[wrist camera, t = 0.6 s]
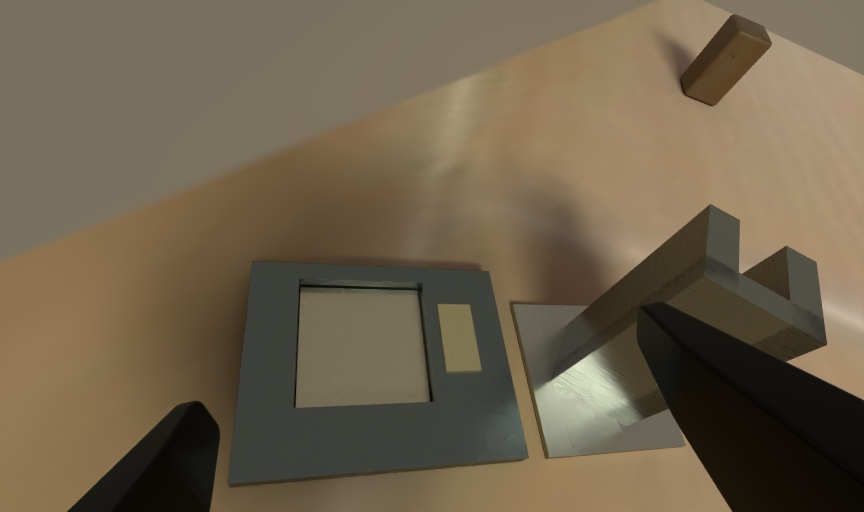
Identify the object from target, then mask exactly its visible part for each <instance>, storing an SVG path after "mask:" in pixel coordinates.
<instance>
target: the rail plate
mask: <svg viewBox="0 0 864 512" xmlns="http://www.w3.org/2000/svg"><path fill="white" fill-rule="evenodd" d="M299 287H301V290H300V314H299V338H298V361H297V385H296V408H294V390H295V367H296V344H297V322H298V299H299ZM417 291H418V292H417ZM418 295H419V300H418ZM419 304H420V309H419ZM420 312H421V318H420ZM421 321H422V327H421ZM422 330H423V335H422ZM423 339H424V344H423ZM424 347H425V353H424ZM425 356H426V362H425ZM426 365H427V370H426ZM427 373H428V379H427ZM428 382H429V388H428ZM429 391H430V397H429ZM430 399H431V402H430ZM527 458H529V456H528V451H527V447H526V442H525V437H524V433H523V428H522V423H521V419H520V414H519V409H518V405H517V400H516V395H515V391H514V386H513V382H512V377H511V372H510V368H509V363H508V358H507V354H506V349H505V344H504V340H503V335H502V330H501V326H500V321H499V316H498V312H497V307H496V303H495V298H494V293H493V289H492V284H491V279H490V275H489V271H471V270H448V269H425V268H402V267H379V266H356V265H333V264H310V263H287V262H264V261H252V269H251V278H250V287H249V296H248V305H247V314H246V323H245V332H244V341H243V350H242V359H241V368H240V377H239V386H238V395H237V404H236V413H235V423H234V432H233V441H232V450H231V459H230V468H229V477H228V485H229V487H240V486H251V485H262V484H273V483H285V482H296V481H307V480H318V479H329V478H340V477H352V476H363V475H374V474H385V473H396V472H407V471H418V470H430V469H441V468H452V467H463V466H474V465H485V464H497V463H508V462H519V461H522V460H525V459H527Z"/></svg>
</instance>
